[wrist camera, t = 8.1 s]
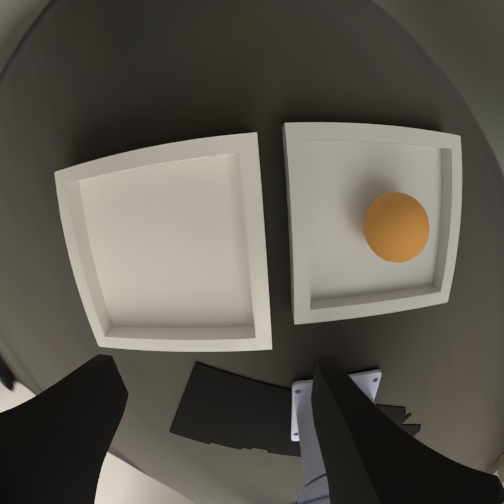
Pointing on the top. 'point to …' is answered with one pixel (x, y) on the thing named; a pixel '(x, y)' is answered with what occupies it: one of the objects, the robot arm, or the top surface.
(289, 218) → the tray
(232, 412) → the black flat plate
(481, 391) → the top surface
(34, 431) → the robot arm
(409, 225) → the ball
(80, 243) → the dish
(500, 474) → the planter bowl
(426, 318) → the top surface
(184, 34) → the top surface
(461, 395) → the top surface
